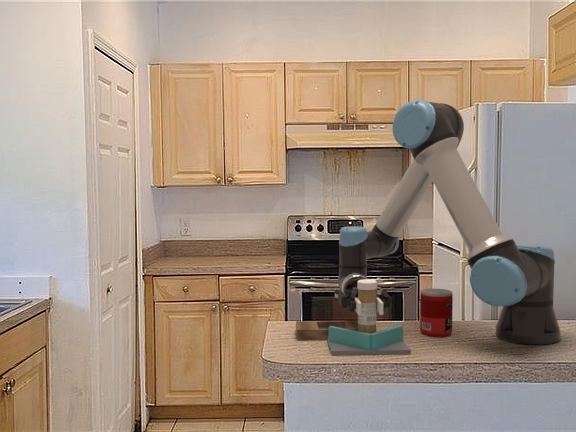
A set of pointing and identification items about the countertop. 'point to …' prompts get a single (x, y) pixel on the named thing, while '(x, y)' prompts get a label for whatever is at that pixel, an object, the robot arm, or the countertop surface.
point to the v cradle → (367, 342)
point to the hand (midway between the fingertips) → (370, 309)
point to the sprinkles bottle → (367, 305)
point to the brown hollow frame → (321, 328)
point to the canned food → (436, 312)
